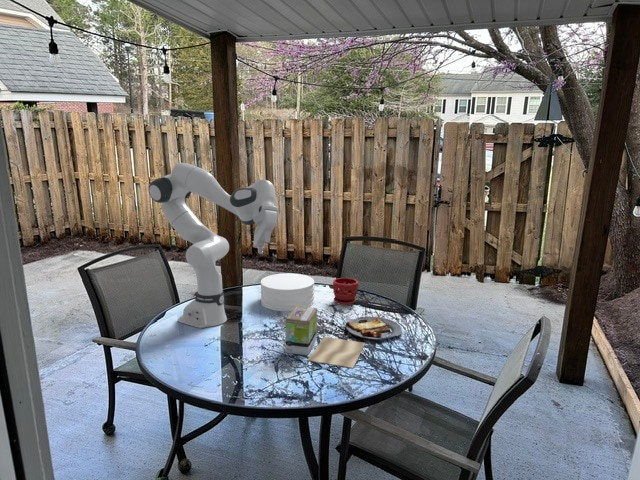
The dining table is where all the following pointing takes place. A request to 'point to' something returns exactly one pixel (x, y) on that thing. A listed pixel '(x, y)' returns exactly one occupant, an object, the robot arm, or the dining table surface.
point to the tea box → (301, 330)
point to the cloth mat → (337, 352)
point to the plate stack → (287, 291)
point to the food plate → (373, 327)
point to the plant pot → (345, 290)
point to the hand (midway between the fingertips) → (264, 247)
